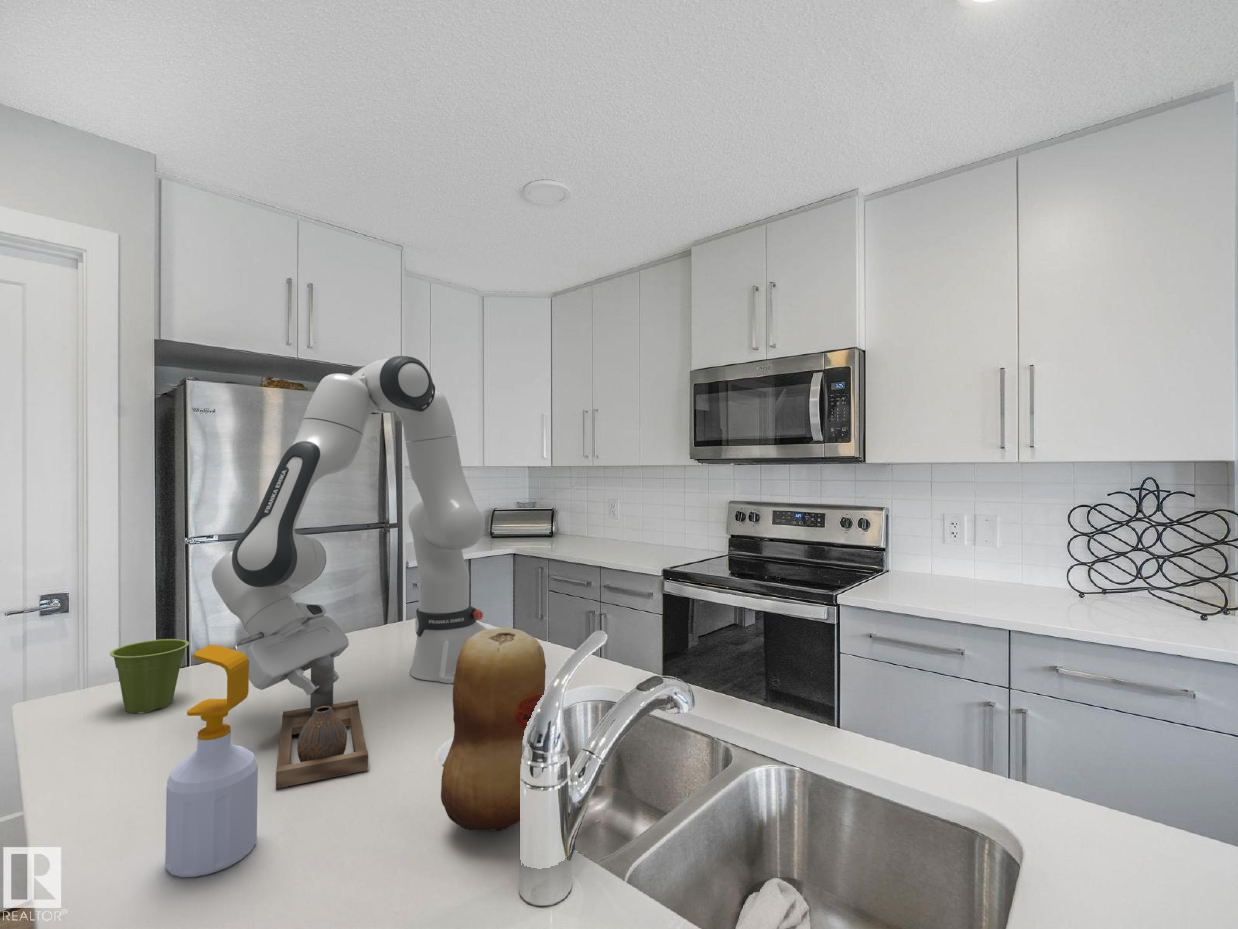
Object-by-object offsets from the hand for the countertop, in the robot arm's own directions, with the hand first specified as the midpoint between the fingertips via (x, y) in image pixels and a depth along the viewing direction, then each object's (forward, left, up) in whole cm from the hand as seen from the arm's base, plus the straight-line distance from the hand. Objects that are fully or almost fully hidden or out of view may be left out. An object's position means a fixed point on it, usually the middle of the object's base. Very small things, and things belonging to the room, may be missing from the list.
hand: (324, 686), depth 106 cm
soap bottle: (+12, +32, -8) cm, 35 cm away
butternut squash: (-20, +40, -8) cm, 46 cm away
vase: (0, +14, -8) cm, 16 cm away
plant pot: (+29, -25, -8) cm, 39 cm away
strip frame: (0, +8, -7) cm, 11 cm away
